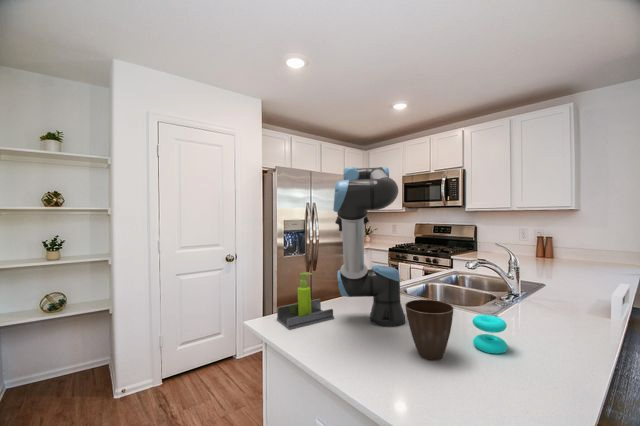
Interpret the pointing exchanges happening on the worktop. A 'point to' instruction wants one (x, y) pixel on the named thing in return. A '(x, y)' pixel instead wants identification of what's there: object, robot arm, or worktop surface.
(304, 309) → the soap dispenser
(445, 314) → the plant pot
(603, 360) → the worktop surface
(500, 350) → the donuts
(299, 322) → the track
